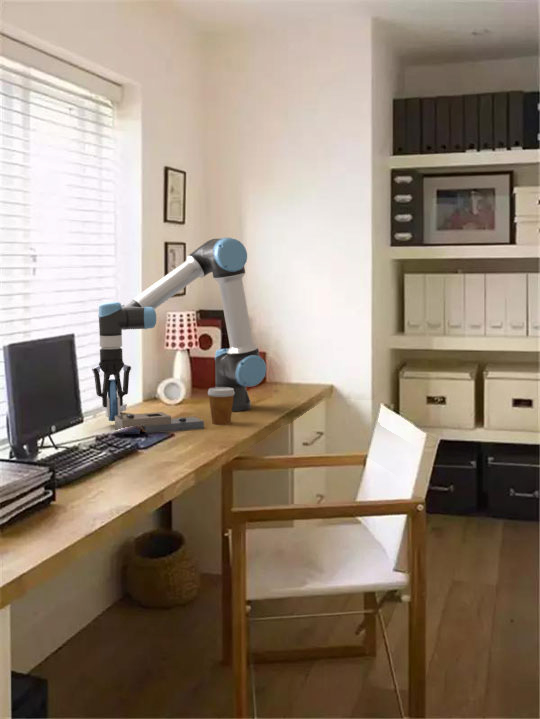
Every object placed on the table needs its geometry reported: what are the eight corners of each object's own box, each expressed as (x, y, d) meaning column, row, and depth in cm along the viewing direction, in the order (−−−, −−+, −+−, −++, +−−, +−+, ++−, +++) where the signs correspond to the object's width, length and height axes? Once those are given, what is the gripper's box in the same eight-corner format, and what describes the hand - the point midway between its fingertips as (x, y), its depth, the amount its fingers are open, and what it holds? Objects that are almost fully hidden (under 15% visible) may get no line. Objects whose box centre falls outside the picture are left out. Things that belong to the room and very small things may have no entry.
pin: (116, 419, 301) (115, 379, 300) (118, 420, 299) (117, 380, 297) (107, 419, 300) (106, 379, 298) (110, 421, 297) (108, 380, 296)
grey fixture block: (194, 423, 301) (194, 407, 300) (203, 428, 293) (203, 411, 292) (115, 430, 289) (114, 413, 289) (122, 435, 281) (122, 417, 280)
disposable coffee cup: (239, 421, 306) (239, 387, 304) (229, 426, 297) (228, 391, 295) (214, 420, 309) (213, 386, 307) (203, 424, 300) (203, 390, 298)
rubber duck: (112, 412, 325) (112, 391, 324) (129, 412, 324) (129, 391, 323) (107, 414, 320) (106, 393, 319) (124, 415, 318) (123, 393, 317)
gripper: (130, 345, 303) (132, 412, 306) (84, 348, 296) (87, 416, 299) (137, 347, 297) (138, 415, 299) (90, 349, 290) (92, 419, 292)
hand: (113, 415), depth 299 cm, fingers closed on pin, 3 cm apart
